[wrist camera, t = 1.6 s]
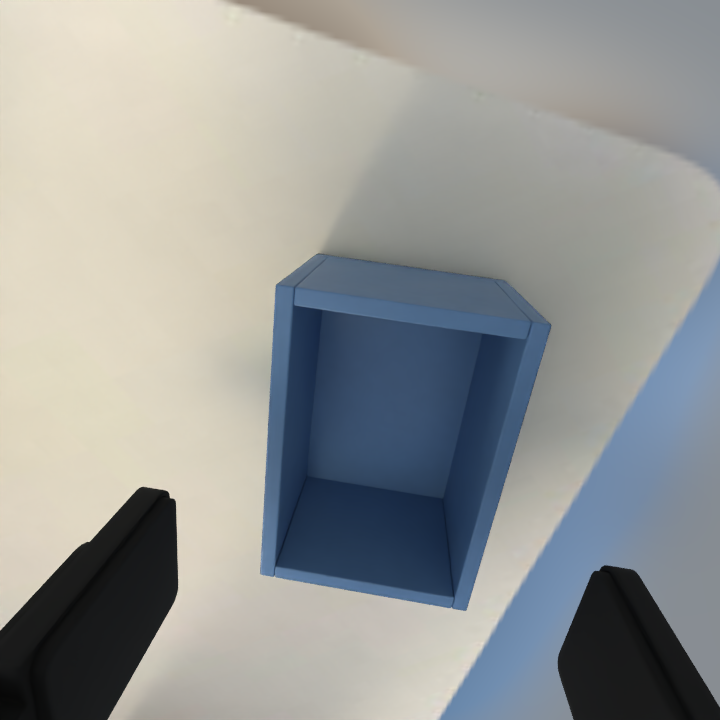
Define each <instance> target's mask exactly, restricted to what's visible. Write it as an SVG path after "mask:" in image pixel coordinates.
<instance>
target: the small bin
mask: <svg viewBox="0 0 720 720" xmlns="http://www.w3.org/2000/svg"><path fill="white" fill-rule="evenodd" d="M550 329H551V324H550V323H549V322H548V321H547V320H546V319H545V318H544V317H543V316H542V315H540V314H539V313H538V312H537V311H536V310H535V309H534V308H533V307H532V306H531V305H530V304H529V303H528V302H527V301H526V300H525V299H524V298H523V297H522V296H521V295H520V294H519V293H518V292H517V291H516V290H515V289H514V288H513V287H511V286H510V285H509V284H508V283H507V282H506V281H505V280H498V279H491V278H484V277H477V276H470V275H463V274H456V273H449V272H442V271H435V270H428V269H421V268H414V267H407V266H400V265H393V264H386V263H379V262H372V261H365V260H358V259H351V258H344V257H337V256H330V255H323V254H317V255H315V256H314V257H312V258H311V259H310V260H308V261H307V262H306V263H304V264H303V265H302V266H300V267H299V268H298V269H296V270H295V271H294V272H292V273H291V274H290V275H288V276H287V277H286V278H284V279H283V280H282V281H280V282H279V283H278V284H277V285H276V291H275V310H274V328H273V347H272V365H271V384H270V402H269V420H268V439H267V457H266V476H265V494H264V513H263V531H262V550H261V568H260V574H261V575H266V576H271V577H274V575H275V577H277V578H283V579H288V580H294V581H300V582H305V583H311V584H317V585H322V586H328V587H333V588H339V589H345V590H350V591H356V592H362V593H367V594H373V595H379V596H384V597H390V598H396V599H401V600H407V601H412V602H418V603H424V604H429V605H435V606H441V607H446V608H451V607H452V608H453V609H458V610H463V611H466V610H467V607H468V603H469V600H470V596H471V593H472V590H473V586H474V583H475V580H476V576H477V573H478V570H479V566H480V563H481V560H482V556H483V553H484V550H485V546H486V543H487V540H488V536H489V533H490V530H491V526H492V523H493V520H494V516H495V513H496V509H497V506H498V503H499V499H500V496H501V493H502V489H503V486H504V483H505V479H506V476H507V473H508V469H509V466H510V463H511V459H512V456H513V453H514V449H515V446H516V443H517V439H518V436H519V433H520V429H521V426H522V422H523V419H524V416H525V412H526V409H527V406H528V402H529V399H530V396H531V392H532V389H533V386H534V382H535V379H536V376H537V372H538V369H539V366H540V362H541V359H542V356H543V352H544V349H545V346H546V342H547V339H548V335H549V332H550Z"/></svg>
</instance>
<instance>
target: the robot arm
mask: <svg viewBox="0 0 720 720" xmlns="http://www.w3.org/2000/svg"><path fill="white" fill-rule="evenodd" d="M177 591H178V563H177V526H176V501H175V499H171V498H170V496H169V493H168V491H165V490H159V489H153V488H147V487H141V488H139V489H138V490H137V491H136V492H135V493H134V494H133V495H132V496H131V497H130V498H129V499H128V501H127V502H126V503H125V504H124V505H123V506H122V507H121V508H120V509H119V510H118V512H117V513H116V514H115V515H114V516H113V517H112V518H111V519H110V520H109V521H108V523H107V524H106V525H105V526H104V527H103V528H102V529H101V530H100V531H99V532H98V534H97V535H96V536H95V537H94V538H93V539H92V540H91V541H90V542H86V543H84V544H82V545H81V546H79V547H78V548H77V549H76V550H75V551H74V552H73V553H72V554H71V555H70V556H69V557H68V558H67V560H66V561H65V562H64V563H63V564H62V565H61V566H60V567H59V568H58V569H57V570H56V571H55V572H54V574H53V575H52V576H51V577H50V578H49V579H48V580H47V581H46V582H45V583H44V584H43V585H42V586H41V588H40V589H39V590H38V591H37V592H36V593H35V594H34V595H33V596H32V597H31V598H30V599H29V600H28V602H27V603H26V604H25V605H24V606H23V607H22V608H21V609H20V610H19V611H18V612H17V613H16V614H15V616H14V617H13V618H12V619H11V620H10V621H9V622H8V623H7V624H6V625H5V626H4V627H3V628H2V630H1V631H0V720H107V719H108V718H109V716H110V714H111V712H112V711H113V709H114V707H115V705H116V704H117V702H118V700H119V698H120V697H121V695H122V693H123V691H124V690H125V688H126V686H127V684H128V682H129V681H130V679H131V677H132V675H133V674H134V672H135V670H136V668H137V667H138V665H139V663H140V661H141V660H142V658H143V656H144V654H145V653H146V651H147V649H148V647H149V646H150V644H151V642H152V640H153V638H154V637H155V635H156V633H157V631H158V630H159V628H160V626H161V624H162V623H163V621H164V619H165V617H166V616H167V614H168V612H169V610H170V609H171V607H172V605H173V603H174V601H175V598H176V595H177ZM558 671H559V674H560V678H561V681H562V685H563V688H564V691H565V694H566V697H567V700H568V703H569V706H570V710H571V712H572V716H573V719H574V720H720V707H719V706H718V704H717V702H716V701H715V699H714V697H713V696H712V694H711V692H710V691H709V689H708V687H707V686H706V684H705V683H704V681H703V679H702V678H701V676H700V674H699V673H698V671H697V670H696V668H695V666H694V665H693V663H692V661H691V660H690V658H689V656H688V655H687V653H686V652H685V650H684V648H683V647H682V645H681V643H680V642H679V640H678V638H677V637H676V635H675V634H674V632H673V630H672V629H671V627H670V625H669V624H668V622H667V621H666V619H665V617H664V616H663V614H662V612H661V611H660V609H659V607H658V606H657V604H656V603H655V601H654V599H653V598H652V596H651V594H650V593H649V591H648V589H647V588H646V586H645V585H644V583H643V581H642V580H641V578H640V576H639V575H638V574H637V573H636V572H635V571H634V570H631V569H625V568H619V567H613V566H603V567H601V569H600V571H594V572H593V573H592V575H591V577H590V580H589V582H588V585H587V587H586V590H585V592H584V594H583V597H582V600H581V602H580V604H579V607H578V609H577V612H576V614H575V616H574V619H573V621H572V624H571V626H570V628H569V631H568V633H567V636H566V638H565V641H564V643H563V645H562V648H561V650H560V653H559V656H558Z"/></svg>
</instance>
